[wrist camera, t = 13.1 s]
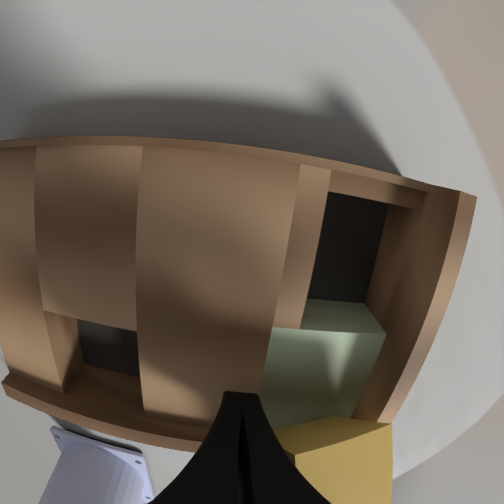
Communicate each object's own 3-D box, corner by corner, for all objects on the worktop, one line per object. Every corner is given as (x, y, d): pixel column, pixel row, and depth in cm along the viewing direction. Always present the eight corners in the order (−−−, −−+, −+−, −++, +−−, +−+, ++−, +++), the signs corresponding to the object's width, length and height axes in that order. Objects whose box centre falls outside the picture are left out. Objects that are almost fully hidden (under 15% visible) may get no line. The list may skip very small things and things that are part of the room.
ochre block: (333, 415, 12) (336, 486, 11) (252, 432, 11) (259, 508, 10) (391, 423, 9) (390, 508, 7) (294, 454, 8) (300, 547, 6)
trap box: (338, 405, 16) (360, 469, 11) (37, 358, 15) (-2, 405, 10) (405, 181, 12) (476, 196, 7) (17, 142, 11) (-53, 146, 6)
